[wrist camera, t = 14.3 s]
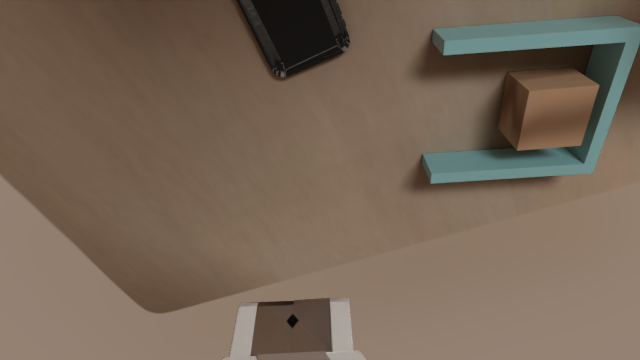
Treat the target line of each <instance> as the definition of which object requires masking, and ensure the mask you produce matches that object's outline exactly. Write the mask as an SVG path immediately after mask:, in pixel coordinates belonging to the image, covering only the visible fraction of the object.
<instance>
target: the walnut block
mask: <svg viewBox="0 0 640 360" xmlns="http://www.w3.org/2000/svg"><path fill="white" fill-rule="evenodd" d="M599 86H600V85H599V84H597V83H596V82H594V81H592V80H591V79H589V78H588V77H586V76H584V75H583V74H581V73H580V72H578V71H576V70H575V69H573V68H572V67H560V68H549V69H537V70H526V71H514V72H507V76H506V82H505V88H504V94H503V99H502V105H501V111H500V117H499V122H498V129H499V130H500V131H501V132H502V134H503V135H504V136H505V137H506V138H507V140H508V141H509V142H510V143H511V144H512V146H513V147H514V148H515V149H516V150H517V151H521V150H533V149H545V148H558V147H570V146H581V144H582V141H583V138H584V134H585V131H586V128H587V125H588V121H589V118H590V115H591V112H592V108H593V105H594V102H595V99H596V95H597V92H598V89H599Z"/></svg>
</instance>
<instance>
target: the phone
mask: <svg viewBox="0 0 640 360" xmlns="http://www.w3.org/2000/svg"><path fill="white" fill-rule="evenodd" d="M237 2H238V4H239V6H240V8H241V10H242V12H243V14H244V16H245V18H246V20H247V22H248V24H249V26H250V28H251V30H252V32H253V34H254V36H255V38H256V40H257V42H258V44H259V46H260V48H261V50H262V52H263V54H264V56H265V58H266V60H267V62H268V64H269V66H270V68H271V70H272V71H273V73H274V74H276V75H277V76H279V77H287V76H290V75H292V74H295V73H297V72H299V71H302V70H304V69H306V68H309V67H311V66H314V65H316V64H318V63H321V62H323V61H325V60H328V59H330V58H332V57H335V56H337V55H340V54H342V53H343V52H345V51H346V50H347V49H348V46H349V43H350V40H349V35H348V32H347V30H346V27H345V26H346V25H345V22H344V20H343V19H342V16H341V14H342V13H341V11H340V8H339V5H338V3H336V0H237Z"/></svg>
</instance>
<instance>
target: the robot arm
mask: <svg viewBox="0 0 640 360" xmlns="http://www.w3.org/2000/svg"><path fill="white" fill-rule="evenodd" d="M222 360H366V358H365V357H364V356H363V355H362V353H361V352H360V351H354V350H353V340H352V328H351V317H350V306H349V299H348V297H345V298H322V299H307V300H294V301H280V302H251V303H240V305H239V307H238V311H237V316H236V322H235V328H234V333H233V338H232V343H231V349H230V354H229V357H224V358H223V359H222Z"/></svg>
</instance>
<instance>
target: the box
mask: <svg viewBox="0 0 640 360" xmlns="http://www.w3.org/2000/svg"><path fill="white" fill-rule="evenodd" d="M432 43H433V44H434V45H435V46H436V47H437V49H438V50H439V51H440V52H441V53H442V54H443V55H456V54H470V53H484V52H498V51H512V50H526V49H539V48H553V47H567V46H581V45H594V46H593V50H592V53H591V56H590V60H589V63H588V66H587V70H586V73H585V76H586V77H588V78H589V79H591V80H592V81H594V82H596V83H597V84H599V85H600V86H599V89H598V92H597V95H596V99H595V102H594V105H593V108H592V112H591V115H590V118H589V121H588V125H587V128H586V131H585V134H584V138H583V141H582V144H581V146H570V147H558V148H545V149H533V150H521V151H517V150H516V149H515V148H504V149H489V150H473V151H458V152H443V153H428V154H423V156H422V165H423V167H424V169H425V172H426V174H427V176H428V179H429V181H430V184H434V183H449V182H465V181H480V180H496V179H511V178H527V177H542V176H558V175H573V174H589V173H593V171H594V169H595V166H596V163H597V160H598V158H599V155H600V152H601V149H602V147H603V144H604V141H605V138H606V135H607V133H608V130H609V127H610V124H611V122H612V119H613V116H614V113H615V111H616V108H617V105H618V102H619V100H620V97H621V94H622V91H623V89H624V86H625V83H626V80H627V78H628V75H629V72H630V69H631V66H632V64H633V61H634V58H635V55H636V53H637V50H638V47H639V44H640V24H638V23H636V22H633V21H630V20H628V19H625V18H622V17H619V16H617V15H613V16H600V17H586V18H573V19H559V20H545V21H532V22H518V23H505V24H491V25H478V26H464V27H451V28H437V29H433V36H432Z"/></svg>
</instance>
